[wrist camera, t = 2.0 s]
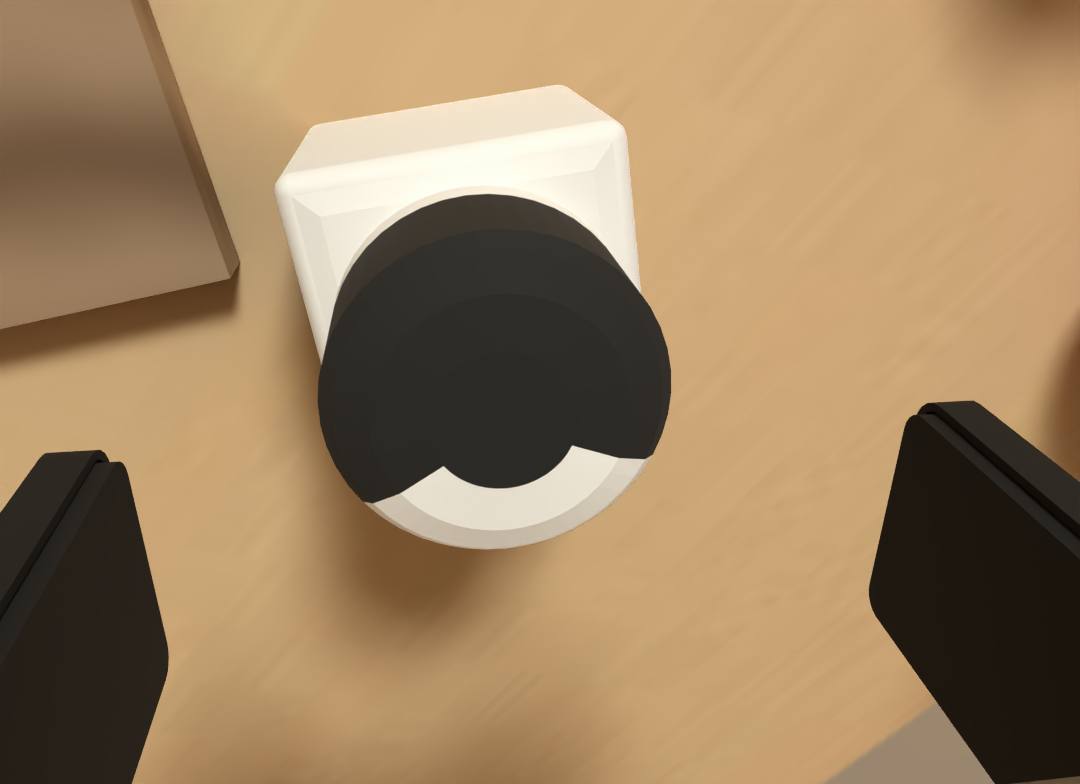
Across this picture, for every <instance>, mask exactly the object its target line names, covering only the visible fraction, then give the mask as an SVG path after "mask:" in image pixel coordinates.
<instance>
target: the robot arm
mask: <svg viewBox="0 0 1080 784" xmlns="http://www.w3.org/2000/svg"><path fill="white" fill-rule="evenodd" d="M869 598H870V603H871V607H872V609H873V612H874V614H875V615H876V617H877V619H878V620H879V621H880V623H881V624H882V626H883V627H884V628H885V630H886V631H887V633H888V634H889V635H890V637H891V638H892V640H893V641H894V643H895V644H896V645H897V647H898V648H899V650H900V651H901V652H902V654H903V655H904V657H905V658H906V659H907V661H908V662H909V664H910V665H911V666H912V668H913V669H914V671H915V672H916V673H917V675H918V676H919V678H920V679H921V681H922V682H923V683H924V685H925V686H926V688H927V689H928V690H929V692H930V693H931V695H932V696H933V697H934V699H935V700H936V702H937V703H938V704H939V706H940V707H941V709H942V710H943V711H944V713H945V714H946V716H947V717H948V718H949V720H950V721H951V723H952V724H953V726H954V727H955V728H956V730H957V731H958V733H959V734H960V735H961V737H962V738H963V740H964V741H965V742H966V744H967V745H968V747H969V748H970V749H971V751H972V752H973V754H974V755H975V756H976V758H977V759H978V761H979V762H980V764H981V765H982V766H983V768H984V769H985V771H986V772H987V773H988V775H989V776H990V778H991V779H992V780H993V782H994V783H995V784H1080V482H1079V481H1077V480H1076V479H1075V478H1073V477H1072V476H1071V475H1070V474H1068V473H1067V472H1066V471H1065V470H1063V469H1062V468H1061V467H1059V466H1058V465H1057V464H1056V463H1054V462H1053V461H1052V460H1051V459H1049V458H1048V457H1047V456H1045V455H1044V454H1043V453H1042V452H1040V451H1039V450H1038V449H1036V448H1035V447H1034V446H1033V445H1031V444H1030V443H1029V442H1028V441H1026V440H1025V439H1024V438H1022V437H1021V436H1020V435H1019V434H1017V433H1016V432H1015V431H1014V430H1012V429H1011V428H1010V427H1008V426H1007V425H1006V424H1005V423H1003V422H1002V421H1001V420H999V419H998V418H997V417H996V416H994V415H993V414H992V413H991V412H989V411H988V410H987V409H985V408H984V407H983V406H982V405H980V404H979V403H977V402H975V401H955V402H937V403H927V404H925V405H924V406H922V407H921V409H920V410H919V411H918V413H917V415H913V416H911V417H910V418H909V419H908V421H907V422H906V425H905V428H904V432H903V437H902V441H901V446H900V450H899V455H898V459H897V464H896V468H895V473H894V477H893V482H892V486H891V491H890V495H889V499H888V504H887V508H886V513H885V517H884V522H883V526H882V531H881V535H880V540H879V544H878V549H877V553H876V558H875V562H874V567H873V571H872V576H871V580H870V585H869ZM168 660H169V656H168V646H167V640H166V636H165V632H164V628H163V623H162V619H161V615H160V610H159V606H158V602H157V597H156V593H155V589H154V584H153V580H152V576H151V572H150V567H149V563H148V559H147V554H146V550H145V546H144V541H143V537H142V533H141V528H140V524H139V520H138V515H137V511H136V507H135V503H134V498H133V494H132V490H131V485H130V481H129V477H128V473H127V470H126V468H125V466H124V464H123V463H122V462H109V459H108V458H107V456H106V454H105V453H104V452H103V451H101V450H92V451H74V452H56V453H45V454H44V455H43V456H42V457H40V459H39V460H38V461H37V463H36V464H35V465H34V467H33V468H32V470H31V471H30V472H29V474H28V475H27V477H26V478H25V479H24V481H23V482H22V484H21V485H20V486H19V488H18V489H17V490H16V492H15V493H14V495H13V496H12V497H11V499H10V500H9V502H8V503H7V504H6V506H5V507H4V508H3V510H2V511H1V513H0V784H132V781H133V778H134V775H135V772H136V769H137V766H138V763H139V760H140V757H141V754H142V751H143V748H144V745H145V742H146V739H147V735H148V732H149V729H150V726H151V723H152V720H153V717H154V714H155V711H156V708H157V705H158V702H159V699H160V696H161V693H162V690H163V687H164V684H165V681H166V677H167V672H168Z"/></svg>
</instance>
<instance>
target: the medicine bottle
mask: <svg viewBox="0 0 1080 784" xmlns="http://www.w3.org/2000/svg"><path fill="white" fill-rule="evenodd" d="M275 198H276V202H277V205H278V209H279V212H280V216H281V220H282V223H283V227H284V231H285V234H286V238H287V242H288V245H289V249H290V253H291V256H292V260H293V264H294V267H295V271H296V274H297V278H298V282H299V285H300V289H301V293H302V296H303V300H304V304H305V307H306V311H307V315H308V318H309V322H310V325H311V329H312V333H313V336H314V340H315V344H316V347H317V351H318V355H319V358H320V362H321V370H320V375H319V385H318V408H319V416H320V424H321V428H322V432H323V435H324V439H325V442H326V446H327V448H328V450H329V452H330V455H331V457H332V459H333V461H334V463H335V465H336V467H337V469H338V470H339V472H340V473H341V475H342V476H343V478H344V479H345V481H346V482H347V484H348V485H349V487H350V488H351V489H352V490H353V491H354V492H355V493H356V494H357V495H358V497H359V498H360V499H361V500H362V501H363V502H364V503H365V504H366V505H368V506H369V507H370V508H371V509H372V510H374V511H375V512H376V513H377V514H378V515H379V516H381V517H382V518H384V519H386V520H387V521H389V522H390V523H392V524H394V525H395V526H397V527H398V528H400V529H402V530H405V531H407V532H409V533H411V534H413V535H415V536H418V537H420V538H423V539H426V540H429V541H433V542H436V543H439V544H443V545H448V546H454V547H459V548H468V549H483V550H489V549H508V548H514V547H520V546H526V545H531V544H535V543H538V542H542V541H545V540H549V539H552V538H554V537H557V536H559V535H562V534H564V533H566V532H569V531H571V530H573V529H575V528H577V527H579V526H581V525H582V524H584V523H586V522H588V521H589V520H591V519H593V518H594V517H596V516H597V515H598V514H600V513H601V512H602V511H604V510H605V509H607V508H608V507H609V506H611V505H612V504H613V503H614V502H615V501H616V500H617V499H618V498H619V497H620V496H621V495H622V494H623V493H624V492H626V491H627V489H628V488H629V487H630V486H631V485H632V483H633V482H634V481H635V480H636V479H637V477H638V476H639V475H640V474H641V472H642V471H643V469H644V468H645V466H646V464H647V463H648V461H649V460H650V458H651V457H652V455H653V453H654V451H655V448H656V446H657V444H658V442H659V440H660V437H661V435H662V432H663V429H664V425H665V422H666V419H667V415H668V410H669V403H670V396H671V368H670V362H669V355H668V349H667V346H666V343H665V340H664V337H663V333H662V330H661V327H660V325H659V323H658V321H657V319H656V317H655V315H654V313H653V312H652V310H651V308H650V306H649V305H648V303H647V302H646V301H645V299H644V298H643V296H642V295H641V285H640V274H639V264H638V253H637V242H636V231H635V221H634V210H633V199H632V188H631V178H630V167H629V156H628V145H627V135H626V133H625V130H624V127H623V126H622V125H621V124H619V123H618V122H617V121H616V120H614V119H613V118H611V117H610V116H608V115H607V114H605V113H604V112H602V111H601V110H600V109H598V108H597V107H595V106H594V105H592V104H591V103H589V102H588V101H586V100H585V99H583V98H582V97H581V96H579V95H578V94H576V93H575V92H573V91H572V90H570V89H569V88H567V87H566V86H564V85H553V86H547V87H541V88H535V89H529V90H523V91H517V92H511V93H505V94H498V95H492V96H486V97H480V98H474V99H468V100H462V101H456V102H450V103H444V104H438V105H432V106H426V107H420V108H414V109H407V110H401V111H395V112H389V113H383V114H377V115H371V116H365V117H359V118H353V119H347V120H341V121H335V122H329V123H323V124H317V125H315V126H313V127H311V129H310V130H309V132H308V133H307V135H306V136H305V138H304V140H303V141H302V143H301V144H300V146H299V148H298V149H297V151H296V152H295V154H294V156H293V157H292V159H291V160H290V162H289V163H288V165H287V167H286V168H285V170H284V171H283V173H282V175H281V176H280V178H279V179H278V181H277V183H276V184H275Z"/></svg>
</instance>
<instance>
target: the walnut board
mask: <svg viewBox="0 0 1080 784" xmlns="http://www.w3.org/2000/svg"><path fill="white" fill-rule="evenodd" d="M239 263H240V261H239V258H238V255H237V252H236V249H235V246H234V244H233V241H232V238H231V235H230V232H229V229H228V227H227V224H226V221H225V218H224V215H223V212H222V210H221V207H220V204H219V201H218V198H217V195H216V193H215V190H214V187H213V184H212V181H211V178H210V175H209V173H208V170H207V167H206V164H205V161H204V158H203V156H202V153H201V150H200V147H199V144H198V141H197V139H196V136H195V133H194V130H193V127H192V124H191V122H190V119H189V116H188V113H187V110H186V107H185V105H184V102H183V99H182V96H181V93H180V90H179V87H178V85H177V82H176V79H175V76H174V73H173V70H172V68H171V65H170V62H169V59H168V56H167V53H166V51H165V48H164V45H163V42H162V39H161V36H160V34H159V31H158V28H157V25H156V22H155V19H154V16H153V14H152V11H151V8H150V5H149V2H148V0H0V329H3V328H8V327H12V326H17V325H21V324H26V323H31V322H35V321H40V320H44V319H49V318H53V317H58V316H62V315H67V314H72V313H76V312H81V311H85V310H90V309H94V308H99V307H103V306H108V305H112V304H117V303H122V302H126V301H131V300H135V299H140V298H144V297H149V296H153V295H158V294H162V293H167V292H172V291H176V290H181V289H185V288H190V287H194V286H199V285H203V284H208V283H213V282H217V281H222V280H226V279H230V278H231V277H232V275H233V273H234V271H235V270H236V268H237V266H238V265H239Z"/></svg>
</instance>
